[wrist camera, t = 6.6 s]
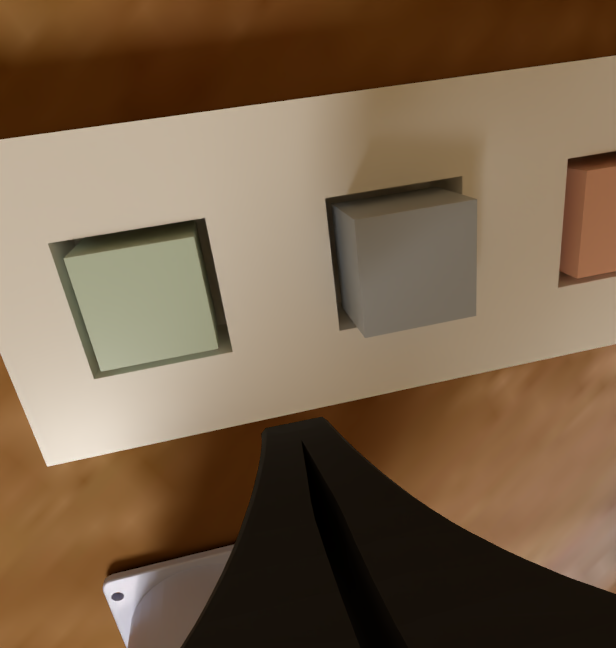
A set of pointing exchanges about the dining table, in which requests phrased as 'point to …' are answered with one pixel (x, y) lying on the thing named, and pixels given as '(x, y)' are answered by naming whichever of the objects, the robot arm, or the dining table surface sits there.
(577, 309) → the button panel
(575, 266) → the terracotta button
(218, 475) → the dining table surface
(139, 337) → the sage button
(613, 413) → the dining table surface
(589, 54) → the dining table surface
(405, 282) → the slate button
